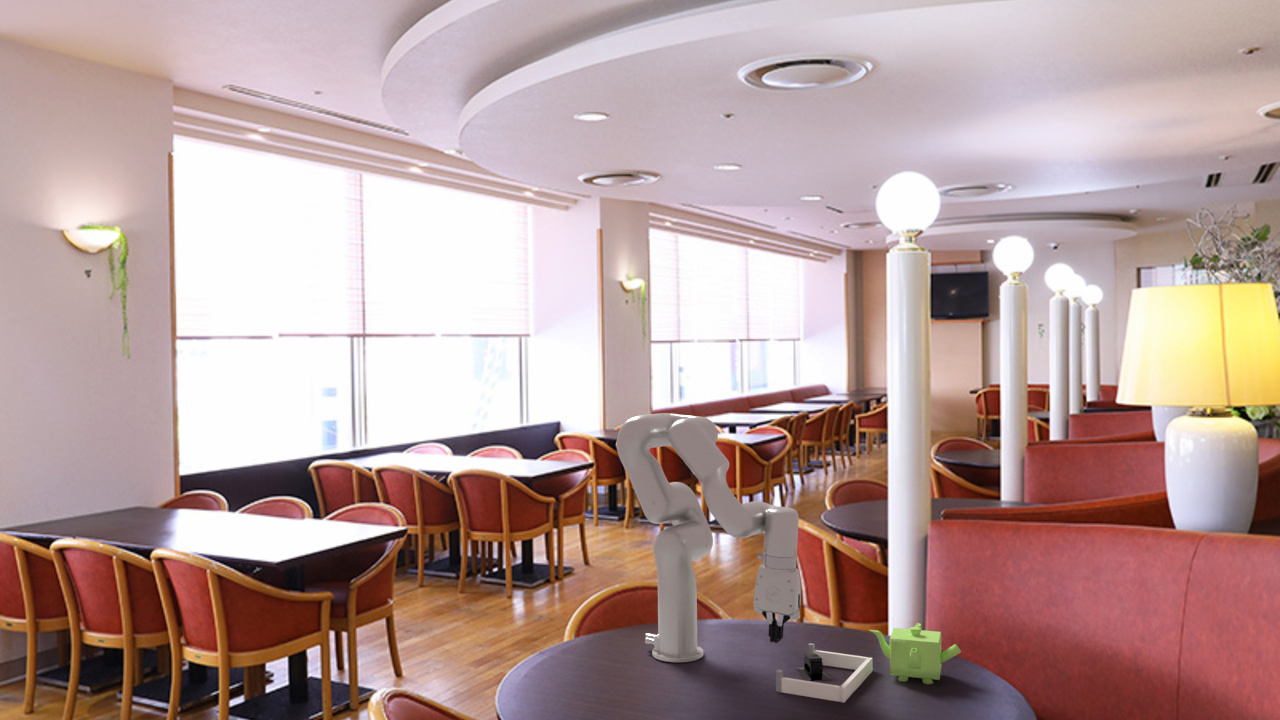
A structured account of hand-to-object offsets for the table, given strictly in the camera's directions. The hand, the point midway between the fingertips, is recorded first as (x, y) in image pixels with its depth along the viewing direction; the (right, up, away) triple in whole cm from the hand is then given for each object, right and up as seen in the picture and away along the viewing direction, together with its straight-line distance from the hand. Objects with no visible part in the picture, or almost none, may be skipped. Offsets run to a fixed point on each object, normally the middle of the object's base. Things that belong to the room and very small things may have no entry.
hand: (775, 640), depth 219 cm
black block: (+9, -8, 0) cm, 12 cm away
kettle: (+31, -8, -2) cm, 32 cm away
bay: (+11, -8, -5) cm, 14 cm away
